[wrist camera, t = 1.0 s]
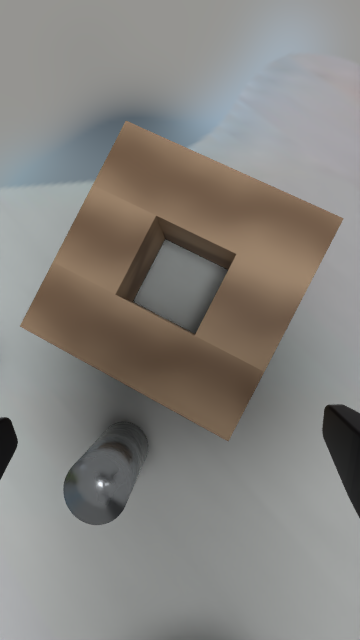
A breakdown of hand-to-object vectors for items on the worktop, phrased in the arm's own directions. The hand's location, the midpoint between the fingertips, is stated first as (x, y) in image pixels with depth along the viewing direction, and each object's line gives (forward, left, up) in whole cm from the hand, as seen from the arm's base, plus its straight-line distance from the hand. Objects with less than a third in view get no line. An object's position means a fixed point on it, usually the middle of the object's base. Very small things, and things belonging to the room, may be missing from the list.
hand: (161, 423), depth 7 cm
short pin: (-9, +1, -14) cm, 17 cm away
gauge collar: (+5, +3, -14) cm, 16 cm away
